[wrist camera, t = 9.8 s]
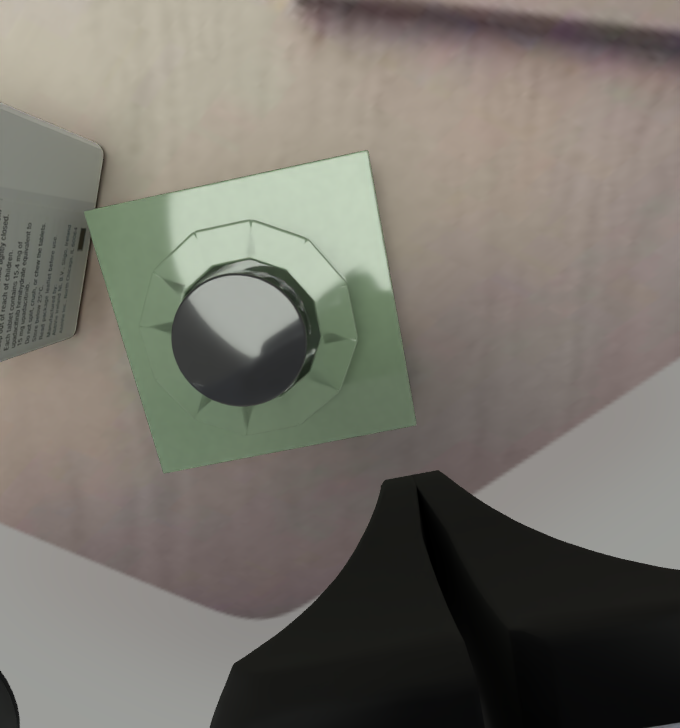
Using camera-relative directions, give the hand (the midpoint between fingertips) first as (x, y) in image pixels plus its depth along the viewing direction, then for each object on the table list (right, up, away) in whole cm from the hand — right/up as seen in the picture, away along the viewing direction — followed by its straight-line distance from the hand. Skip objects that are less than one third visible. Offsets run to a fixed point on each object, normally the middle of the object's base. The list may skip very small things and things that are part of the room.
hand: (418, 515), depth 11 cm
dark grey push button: (-5, +5, +5) cm, 8 cm away
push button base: (-5, +5, +9) cm, 12 cm away
